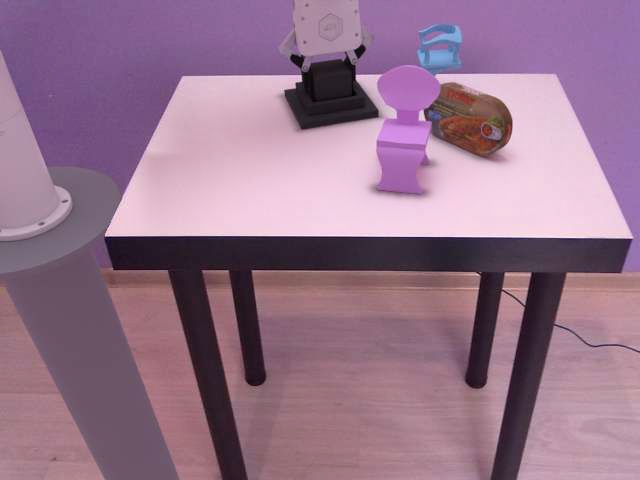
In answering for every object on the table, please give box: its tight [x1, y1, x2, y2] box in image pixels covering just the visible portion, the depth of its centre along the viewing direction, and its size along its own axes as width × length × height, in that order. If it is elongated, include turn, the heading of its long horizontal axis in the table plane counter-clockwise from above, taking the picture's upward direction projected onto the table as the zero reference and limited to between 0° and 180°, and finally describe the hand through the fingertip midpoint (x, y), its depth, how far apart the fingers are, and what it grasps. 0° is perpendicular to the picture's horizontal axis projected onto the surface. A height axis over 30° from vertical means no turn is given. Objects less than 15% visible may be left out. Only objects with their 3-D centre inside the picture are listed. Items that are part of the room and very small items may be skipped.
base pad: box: [283, 80, 380, 130], centre depth 104 cm, size 13×13×3 cm
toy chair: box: [375, 64, 441, 195], centre depth 82 cm, size 8×9×15 cm
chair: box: [416, 23, 463, 85], centre depth 103 cm, size 8×8×12 cm
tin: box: [422, 81, 514, 157], centre depth 91 cm, size 15×3×8 cm, turn 42°
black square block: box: [310, 58, 352, 101], centre depth 102 cm, size 6×6×4 cm
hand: (329, 87), depth 103 cm, fingers closed on black square block, 6 cm apart
